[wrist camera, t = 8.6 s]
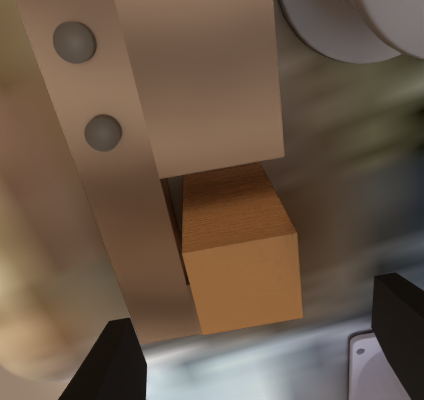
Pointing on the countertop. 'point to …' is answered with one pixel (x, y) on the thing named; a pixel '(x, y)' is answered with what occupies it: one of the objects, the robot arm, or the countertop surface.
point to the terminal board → (156, 122)
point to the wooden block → (239, 250)
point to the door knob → (358, 28)
